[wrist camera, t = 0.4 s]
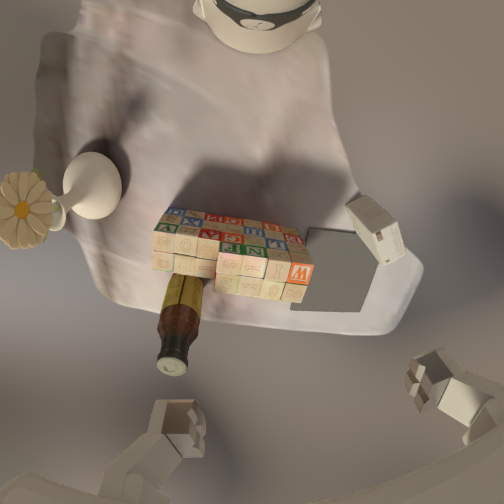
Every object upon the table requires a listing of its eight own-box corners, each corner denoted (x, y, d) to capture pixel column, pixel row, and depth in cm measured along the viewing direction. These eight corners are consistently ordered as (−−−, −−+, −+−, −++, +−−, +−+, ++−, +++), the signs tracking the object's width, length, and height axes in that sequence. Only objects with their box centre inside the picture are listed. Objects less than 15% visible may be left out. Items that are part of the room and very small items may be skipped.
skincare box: (376, 222, 47) (409, 255, 36) (354, 233, 48) (383, 270, 37) (365, 192, 44) (400, 219, 33) (342, 203, 45) (372, 234, 34)
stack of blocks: (165, 240, 47) (145, 281, 36) (168, 205, 44) (146, 238, 33) (288, 260, 50) (301, 304, 39) (298, 228, 47) (315, 266, 36)
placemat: (308, 227, 47) (309, 228, 46) (385, 236, 48) (386, 237, 48) (290, 309, 55) (290, 310, 54) (359, 311, 56) (359, 312, 55)
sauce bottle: (170, 293, 52) (145, 376, 34) (171, 264, 49) (141, 347, 31) (204, 298, 53) (192, 384, 35) (207, 269, 50) (193, 355, 32)
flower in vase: (123, 220, 45) (46, 314, 23) (69, 210, 43) (-21, 288, 21) (130, 143, 39) (26, 188, 17) (71, 138, 37) (-42, 180, 15)
